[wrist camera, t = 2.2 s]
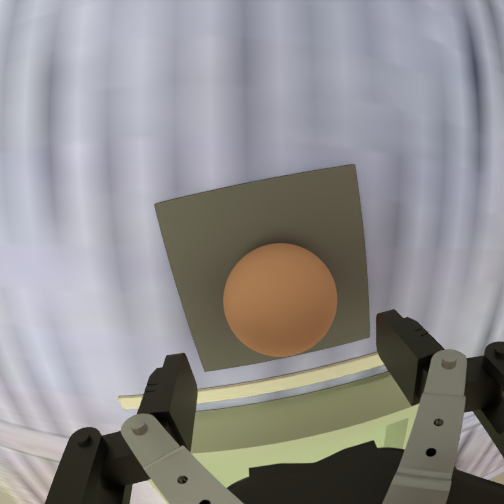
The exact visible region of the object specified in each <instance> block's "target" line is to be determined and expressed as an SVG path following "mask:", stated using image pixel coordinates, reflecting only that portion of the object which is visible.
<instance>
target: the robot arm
mask: <svg viewBox="0 0 504 504" xmlns="http://www.w3.org/2000/svg"><path fill="white" fill-rule="evenodd" d="M376 346H377V352H378V355H379V357H380V359H381V360H382V362H383V363H384V365H385V366H386V368H387V369H388V371H389V372H390V374H391V375H392V377H393V378H394V380H395V382H396V383H397V385H398V386H399V388H400V389H401V391H402V392H403V394H404V395H405V397H406V398H407V400H408V402H409V403H410V405H411V406H415V405H417V404H419V407H418V410H417V414H416V417H415V420H414V424H413V427H412V430H411V433H410V436H409V439H408V442H407V445H406V448H405V449H400V448H393V447H380V448H377V446H376V444H375V441H374V440H372V441H369V442H366V443H362V444H359V445H356V446H352V447H348V448H345V449H343V450H341V451H339V452H336V453H334V454H332V455H330V456H328V457H326V458H324V459H322V460H319V461H317V462H314V463H277V464H271V465H265V466H258V467H251V468H249V477H246V478H243V479H241V480H239V481H237V482H235V483H233V484H231V485H230V486H228V487H227V488H226V487H225V486H224V485H222V484H221V483H220V482H219V481H218V480H217V479H216V478H215V477H214V476H213V475H212V474H211V473H210V472H209V471H208V470H207V469H206V468H205V467H204V466H203V465H202V464H201V463H200V462H199V461H198V460H197V459H196V458H195V457H194V456H193V455H192V454H191V445H192V437H193V429H194V420H195V412H196V405H197V397H198V390H197V384H196V381H195V378H194V376H193V373H192V370H191V367H190V365H189V362H188V359H187V356H186V355H185V353H180V354H173V355H167V356H166V358H165V361H164V364H163V368H157V369H156V370H155V371H154V372H153V373H152V374H151V375H150V377H149V380H148V383H147V386H146V388H145V393H144V394H143V397H142V400H141V403H140V406H139V409H138V412H137V415H134V416H132V417H130V418H129V419H127V420H126V421H125V422H124V423H123V425H122V427H121V431H119V432H115V433H111V434H107V435H103V436H102V435H101V433H100V432H99V431H98V430H97V429H96V428H92V427H86V428H82V429H79V430H77V431H76V432H75V433H73V434H72V436H71V437H70V439H69V441H68V443H67V446H66V448H65V451H64V453H63V456H62V458H61V461H60V463H59V466H58V469H57V471H56V474H55V477H54V479H53V482H52V485H51V488H50V490H49V493H48V496H47V499H46V502H45V504H129V503H130V497H131V491H132V485H133V484H134V483H138V482H142V481H146V480H150V479H151V480H152V481H153V483H154V484H155V485H156V487H157V488H158V490H159V491H160V492H161V493H162V495H163V496H164V497H165V499H166V500H167V501H168V503H169V504H504V485H502V484H499V483H496V482H493V481H490V480H486V479H483V478H480V477H477V476H474V475H471V474H468V473H466V472H463V471H460V470H457V469H454V465H455V460H456V455H457V450H458V445H459V440H460V434H461V429H462V422H463V415H464V412H470V411H473V412H474V414H475V415H476V417H477V418H478V420H479V421H480V422H481V424H482V425H483V427H484V428H485V430H486V431H487V433H488V434H489V436H490V437H491V439H492V440H493V442H494V443H495V445H496V447H497V448H498V450H499V451H500V453H501V454H502V456H503V457H504V342H493V343H491V344H489V345H488V346H487V347H486V348H485V352H484V356H478V357H472V358H466V357H465V355H464V354H463V353H461V352H459V351H457V350H452V349H446V350H445V349H444V348H443V347H442V346H441V345H440V344H439V343H438V342H437V341H436V340H435V339H434V338H433V337H432V336H431V335H430V334H428V332H427V331H426V330H425V329H423V327H422V326H421V325H420V324H419V323H418V322H417V321H415V320H413V319H411V318H408V317H406V318H403V317H402V316H401V315H400V314H399V313H398V312H397V311H396V310H394V309H393V310H389V311H385V312H382V313H378V314H377V316H376Z"/></svg>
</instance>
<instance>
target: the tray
mask: <svg viewBox="0 0 504 504" xmlns="http://www.w3.org/2000/svg"><path fill="white" fill-rule="evenodd" d="M418 407H419V404H417V405H415V406H411V405H410V403H409V402H408V400H407V398H406V397H405V395H404V394H403V392H402V391H401V389H400V388H399V386H398V385H397V383H396V382H395V380H394V378H393V377H392V375H391V374H390V372H385V373H382V374H379V375H376V376H372V377H369V378H366V379H362V380H359V381H355V382H351V383H348V384H344V385H340V386H336V387H332V388H328V389H324V390H320V391H316V392H312V393H307V394H303V395H298V396H293V397H289V398H284V399H279V400H273V401H268V402H262V403H256V404H250V405H244V406H238V407H231V408H224V409H216V410H208V411H199V412H195V420H194V429H193V437H192V445H191V454H192V455H193V456H194V457H195V458H196V459H197V460H198V461H199V462H200V463H201V464H202V465H203V466H204V467H205V468H206V469H207V470H208V471H209V472H210V473H211V474H212V475H213V476H214V477H215V478H216V479H217V480H218V481H219V482H220V483H221V484H222V485H224V486H225V487H226V488H227V487H228V486H230V485H231V484H233V483H235V482H237V481H239V480H241V479H243V478H246V477H249V468H251V467H258V466H265V465H271V464H277V463H314V462H317V461H319V460H322V459H324V458H326V457H328V456H330V455H332V454H334V453H336V452H339V451H341V450H343V449H345V448H348V447H352V446H356V445H359V444H362V443H366V442H369V441H372V440H374V441H375V444H376V446H377V448H380V447H393V448H400V449H405V448H406V445H407V442H408V439H409V436H410V433H411V430H412V427H413V424H414V420H415V417H416V414H417V410H418ZM148 481H149V482H150V484H151V485H152V486H153V487H154V488H155V490H156V491H157V492H158V493H159V494H160V496H161V497H162V498H163V499H164V500H165V501H166V502H167V504H169V503H168V501H167V500H166V499H165V497H164V496H163V495H162V493H161V492H160V491H159V490H158V488H157V487H156V485H155V484H154V483H153V481H152V480H151V479H150V480H148Z"/></svg>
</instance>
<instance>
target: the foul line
mask: <svg viewBox="0 0 504 504" xmlns="http://www.w3.org/2000/svg"><path fill="white" fill-rule="evenodd" d="M381 365H384V363H383V362H382V360H381V359H380V357H379V355H378V352H376V353H373V354H369V355H366V356H362V357H358V358H355V359H351V360H347V361H343V362H340V363H336V364H332V365H328V366H323V367H319V368H315V369H311V370H306V371H302V372H297V373H292V374H288V375H283V376H278V377H273V378H268V379H262V380H257V381H251V382H245V383H239V384H233V385H226V386H220V387H212V388H205V389H197V390H198V397H197V403H205V402H213V401H221V400H228V399H235V398H241V397H247V396H253V395H259V394H265V393H270V392H276V391H281V390H286V389H291V388H295V387H300V386H305V385H309V384H313V383H318V382H322V381H326V380H330V379H334V378H338V377H342V376H346V375H349V374H353V373H357V372H360V371H364V370H367V369H371V368H374V367H377V366H381ZM142 397H143V395H134V396H119V397H118V400H119V402H120V404H121V406H122V407H123V409H136V408H139V406H140V403H141V400H142Z"/></svg>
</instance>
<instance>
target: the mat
mask: <svg viewBox="0 0 504 504" xmlns="http://www.w3.org/2000/svg"><path fill="white" fill-rule="evenodd" d="M154 206H155V210H156V214H157V218H158V222H159V226H160V230H161V233H162V237H163V241H164V244H165V248H166V252H167V255H168V259H169V262H170V266H171V269H172V273H173V276H174V280H175V283H176V286H177V290H178V293H179V296H180V299H181V303H182V306H183V309H184V312H185V315H186V318H187V322H188V325H189V328H190V331H191V334H192V337H193V340H194V343H195V346H196V349H197V351H198V354H199V357H200V360H201V363H202V366H203V369H204V371H205V372H207V371H214V370H220V369H227V368H233V367H239V366H245V365H250V364H256V363H261V362H266V361H271V360H276V359H281V358H286V357H274V356H268V355H264V354H260V353H258V352H256V351H254V350H252V349H250V348H249V347H247V346H246V345H245V344H243V343H242V342H241V341H240V340H239V339H238V338H237V337H236V335H235V334H234V333H233V331H232V330H231V328H230V326H229V324H228V322H227V319H226V316H225V312H224V305H223V295H224V289H225V285H226V281H227V279H228V276H229V274H230V273H231V271H232V269H233V268H234V267H235V265H236V264H237V263H238V262H239V261H240V260H241V259H242V258H243V257H244V256H245V255H246V254H248V253H249V252H251V251H253V250H254V249H256V248H259V247H261V246H265V245H268V244H275V243H287V244H293V245H297V246H300V247H302V248H305V249H307V250H309V251H310V252H312V253H313V254H315V255H316V256H317V257H318V258H319V259H320V260H321V261H322V262H323V263H324V264H325V265H326V266H327V268H328V269H329V271H330V273H331V275H332V277H333V279H334V282H335V285H336V291H337V309H336V314H335V317H334V320H333V322H332V325H331V327H330V328H329V330H328V332H327V333H326V334H325V336H324V337H323V338H322V339H321V340H320V341H319V342H318V343H317V344H315V345H314V346H313V347H311V348H310V349H308V350H306V351H304V352H302V353H299V354H296V355H300V354H305V353H309V352H314V351H318V350H322V349H326V348H330V347H335V346H339V345H342V344H346V343H350V342H354V341H358V340H361V339H365V338H369V337H370V321H369V296H368V279H367V265H366V252H365V241H364V231H363V221H362V213H361V204H360V196H359V189H358V182H357V175H356V168H355V165H354V164H352V165H345V166H339V167H332V168H326V169H320V170H314V171H308V172H302V173H297V174H291V175H285V176H280V177H275V178H269V179H264V180H259V181H254V182H249V183H244V184H239V185H234V186H230V187H225V188H220V189H216V190H211V191H207V192H202V193H198V194H193V195H189V196H185V197H181V198H176V199H172V200H168V201H164V202H160V203H156V204H154ZM296 355H293V356H296ZM287 357H291V356H287Z"/></svg>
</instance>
